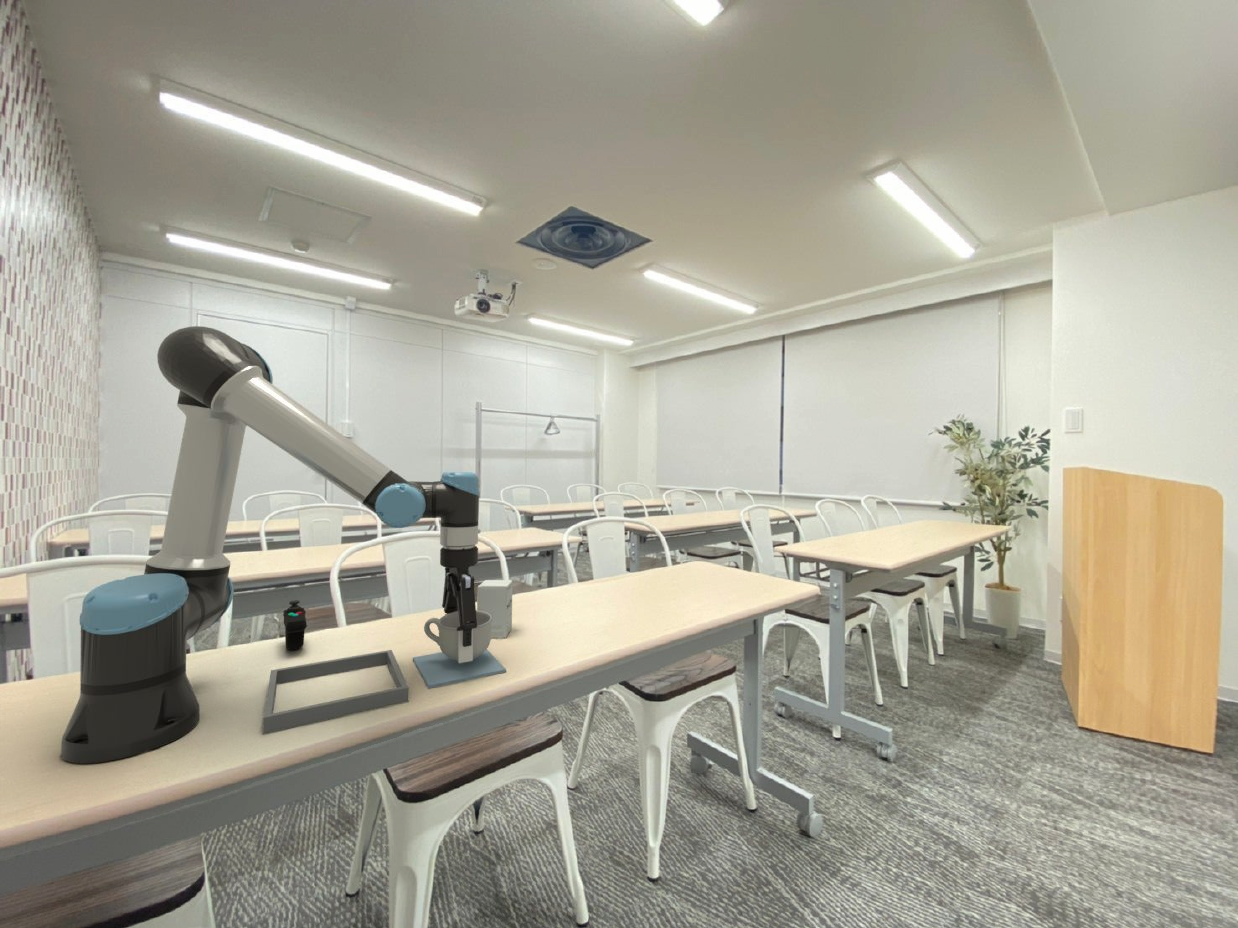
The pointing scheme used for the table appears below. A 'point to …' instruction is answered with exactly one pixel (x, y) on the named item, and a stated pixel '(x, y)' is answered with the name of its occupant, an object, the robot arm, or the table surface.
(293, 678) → the gray rectangular frame
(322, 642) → the table surface
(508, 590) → the supplement box
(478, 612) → the teacup
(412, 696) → the table surface
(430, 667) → the mat
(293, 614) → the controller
